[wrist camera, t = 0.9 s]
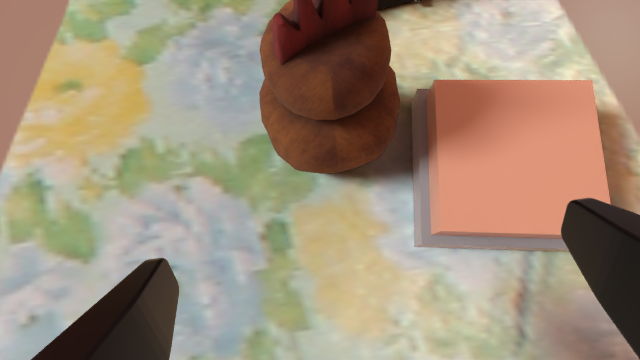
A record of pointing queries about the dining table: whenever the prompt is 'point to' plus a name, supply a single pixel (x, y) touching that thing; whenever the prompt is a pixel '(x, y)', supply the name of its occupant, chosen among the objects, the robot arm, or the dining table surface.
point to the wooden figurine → (328, 84)
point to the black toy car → (392, 3)
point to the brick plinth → (503, 161)
